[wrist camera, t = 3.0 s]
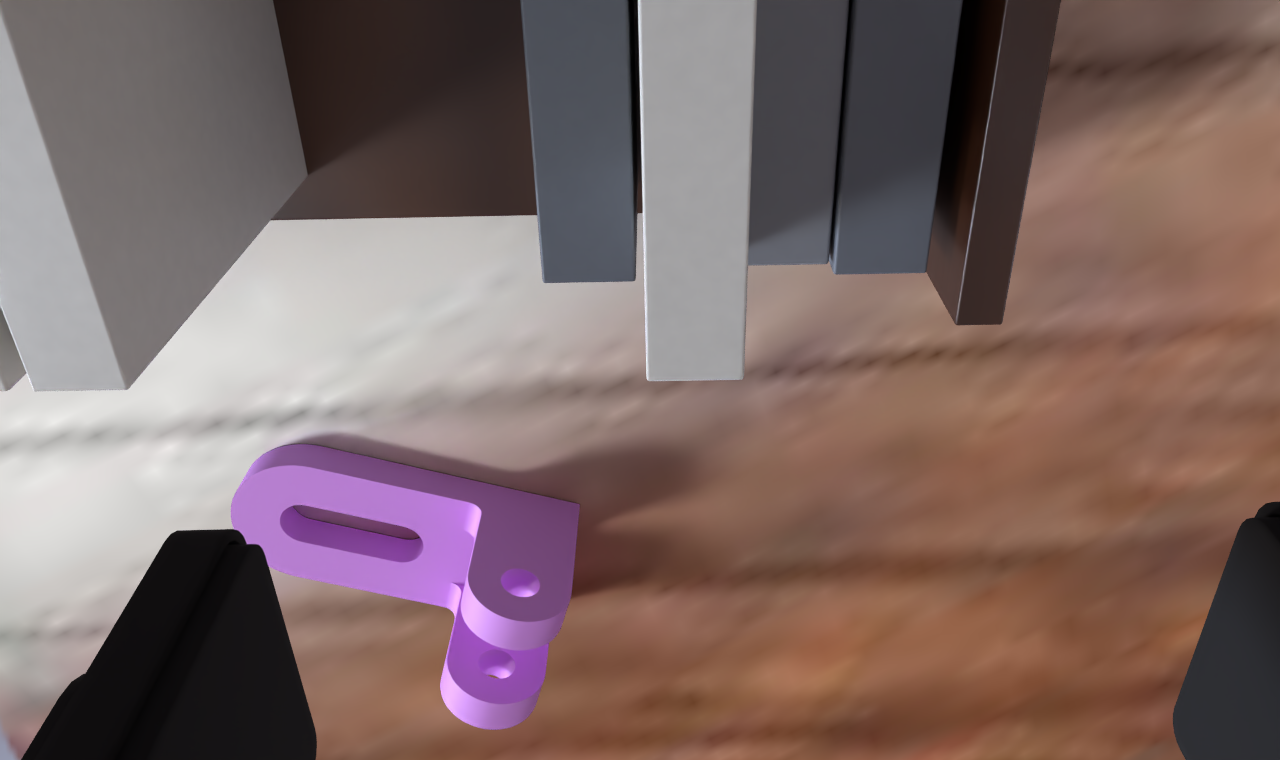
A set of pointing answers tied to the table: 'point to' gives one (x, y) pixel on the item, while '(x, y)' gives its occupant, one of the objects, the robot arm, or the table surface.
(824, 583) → the table surface
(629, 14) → the grey books
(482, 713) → the bracket
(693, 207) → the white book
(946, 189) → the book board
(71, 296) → the white books
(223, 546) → the robot arm
